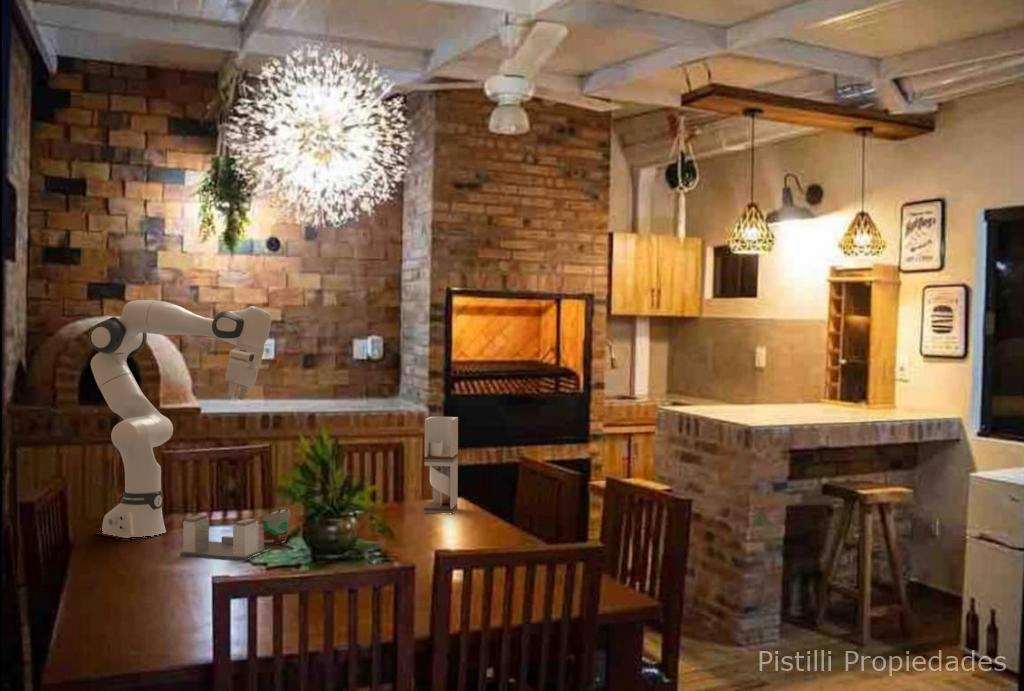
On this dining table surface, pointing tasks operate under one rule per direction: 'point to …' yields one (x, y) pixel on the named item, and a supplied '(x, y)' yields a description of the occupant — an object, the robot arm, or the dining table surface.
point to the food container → (275, 526)
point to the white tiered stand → (442, 463)
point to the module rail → (230, 547)
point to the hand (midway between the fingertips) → (235, 398)
